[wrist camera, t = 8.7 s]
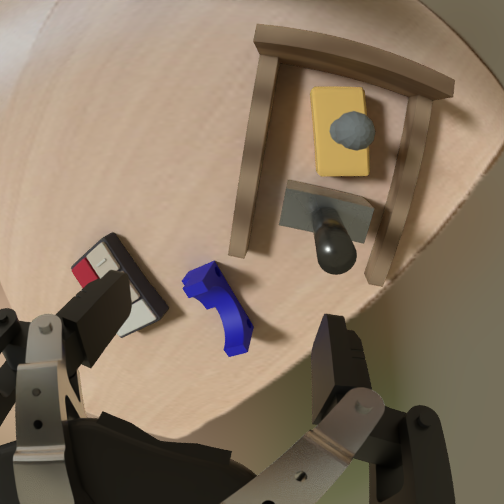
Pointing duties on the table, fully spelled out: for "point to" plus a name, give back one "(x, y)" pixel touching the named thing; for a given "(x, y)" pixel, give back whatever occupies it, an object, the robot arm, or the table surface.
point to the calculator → (142, 293)
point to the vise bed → (356, 67)
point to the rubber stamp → (341, 131)
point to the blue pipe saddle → (221, 305)
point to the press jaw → (328, 222)
